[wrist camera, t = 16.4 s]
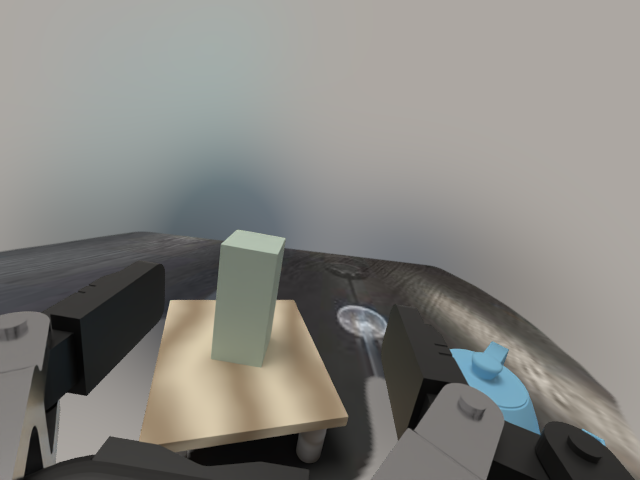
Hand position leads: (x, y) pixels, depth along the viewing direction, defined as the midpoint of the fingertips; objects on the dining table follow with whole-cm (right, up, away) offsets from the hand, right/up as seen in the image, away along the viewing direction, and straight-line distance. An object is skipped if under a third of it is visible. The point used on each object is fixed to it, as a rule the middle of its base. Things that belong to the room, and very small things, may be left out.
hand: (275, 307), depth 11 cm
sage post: (-7, -9, +22) cm, 25 cm away
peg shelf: (-8, -15, +24) cm, 29 cm away
